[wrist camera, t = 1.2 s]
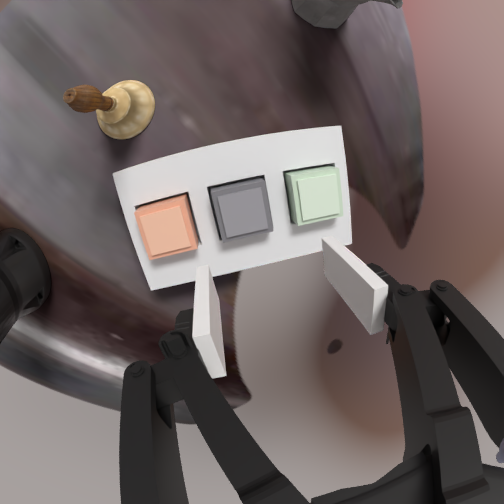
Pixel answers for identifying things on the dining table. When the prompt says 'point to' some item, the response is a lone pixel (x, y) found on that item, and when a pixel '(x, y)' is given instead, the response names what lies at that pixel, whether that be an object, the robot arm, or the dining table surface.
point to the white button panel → (226, 172)
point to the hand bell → (115, 107)
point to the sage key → (314, 194)
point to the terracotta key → (167, 227)
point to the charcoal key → (242, 209)
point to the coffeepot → (330, 10)
